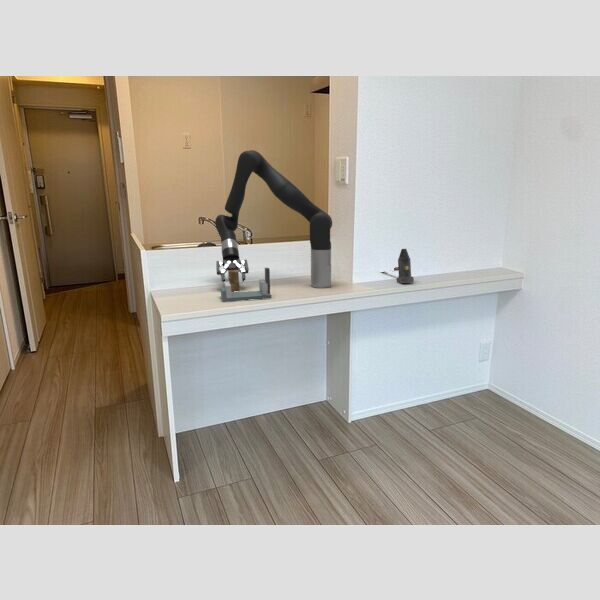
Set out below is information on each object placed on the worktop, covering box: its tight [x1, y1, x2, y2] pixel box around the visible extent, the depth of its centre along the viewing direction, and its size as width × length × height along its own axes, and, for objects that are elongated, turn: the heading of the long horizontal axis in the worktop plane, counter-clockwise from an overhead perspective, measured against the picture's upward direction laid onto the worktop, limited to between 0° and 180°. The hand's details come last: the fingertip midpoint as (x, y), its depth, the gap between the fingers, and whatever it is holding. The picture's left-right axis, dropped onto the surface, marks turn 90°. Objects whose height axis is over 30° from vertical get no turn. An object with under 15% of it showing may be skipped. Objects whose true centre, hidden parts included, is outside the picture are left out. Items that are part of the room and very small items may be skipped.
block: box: [227, 270, 240, 293], centre depth 207 cm, size 4×5×9 cm
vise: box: [220, 280, 272, 303], centre depth 195 cm, size 20×9×6 cm, turn 104°
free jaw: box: [258, 267, 271, 295], centre depth 196 cm, size 4×9×10 cm, turn 14°
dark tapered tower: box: [393, 248, 415, 284], centre depth 231 cm, size 6×16×30 cm
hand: (234, 281), depth 206 cm, fingers open, 8 cm apart
